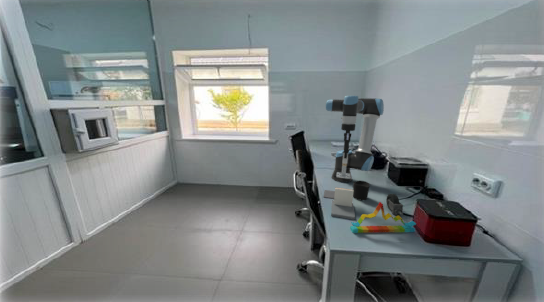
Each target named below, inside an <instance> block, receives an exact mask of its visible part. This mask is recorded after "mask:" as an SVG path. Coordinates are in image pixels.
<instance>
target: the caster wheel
mask: <svg viewBox="0 0 544 302" xmlns="http://www.w3.org/2000/svg"><path fill="white" fill-rule="evenodd" d="M385 201H386V206H387V208H388V209H389V210H391V213H392V214H391V215H394V216H398V215H399V216H404V212H403V208H404V205H403V204H402V202H400V199H399V196H398V195H397V194H394V193H388V194H387V195H386V199H385Z"/></svg>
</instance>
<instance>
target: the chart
mask: <svg viewBox="0 0 544 302" xmlns="http://www.w3.org/2000/svg"><path fill="white" fill-rule="evenodd" d="M379 212H381V216H382V219H383V220H384V221H387V220H389V219H390V218H391V219H392V220H394V221H395V222H398V221H400V222H401V224H403V225H361V224H362V223H363V221H364V220H365V219H372V218H376V217H377V215H378V214H379ZM350 224H351V225H350V227H349V230H350V231H351V233H353V234H356V233H357V234H358V233H361V234H362V233H363V234H364V233H365V234H366V233H371V234H373V233H415V232H416V228H415V227H414V226H416V225H417V223H416V222H415V221H413V220H411V221H409V222H404V219H403V217H401V215H395V216H392V214H390V213H389V212H387V213H386V214H385V209H384V204H383V203H382V202H381V201H379V203H378V205H377V206H376V207H375V209H374V211H372V213H368V214H365V213H363V214H361V215H360V217H359V218H358V220H357V221H356V222H352V221H351V223H350Z"/></svg>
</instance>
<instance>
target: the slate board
mask: <svg viewBox="0 0 544 302" xmlns="http://www.w3.org/2000/svg"><path fill="white" fill-rule="evenodd" d="M331 200H332V199H331ZM354 207H355V206H354V203H353V202H352V207H349V206H343V205H336V204H334V199H333V200H332V201H331V212H330V216H331V217H333V218H341V219H345V220H346V219H348V220H354V221H355V220H356V213H355V208H354Z"/></svg>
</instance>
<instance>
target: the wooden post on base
mask: <svg viewBox="0 0 544 302" xmlns="http://www.w3.org/2000/svg"><path fill="white" fill-rule="evenodd" d="M346 166H347V164H345V163H342V173H340V172H337V175H336V177H339V178H347V179H351V177H350V174H349V173H346Z"/></svg>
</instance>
